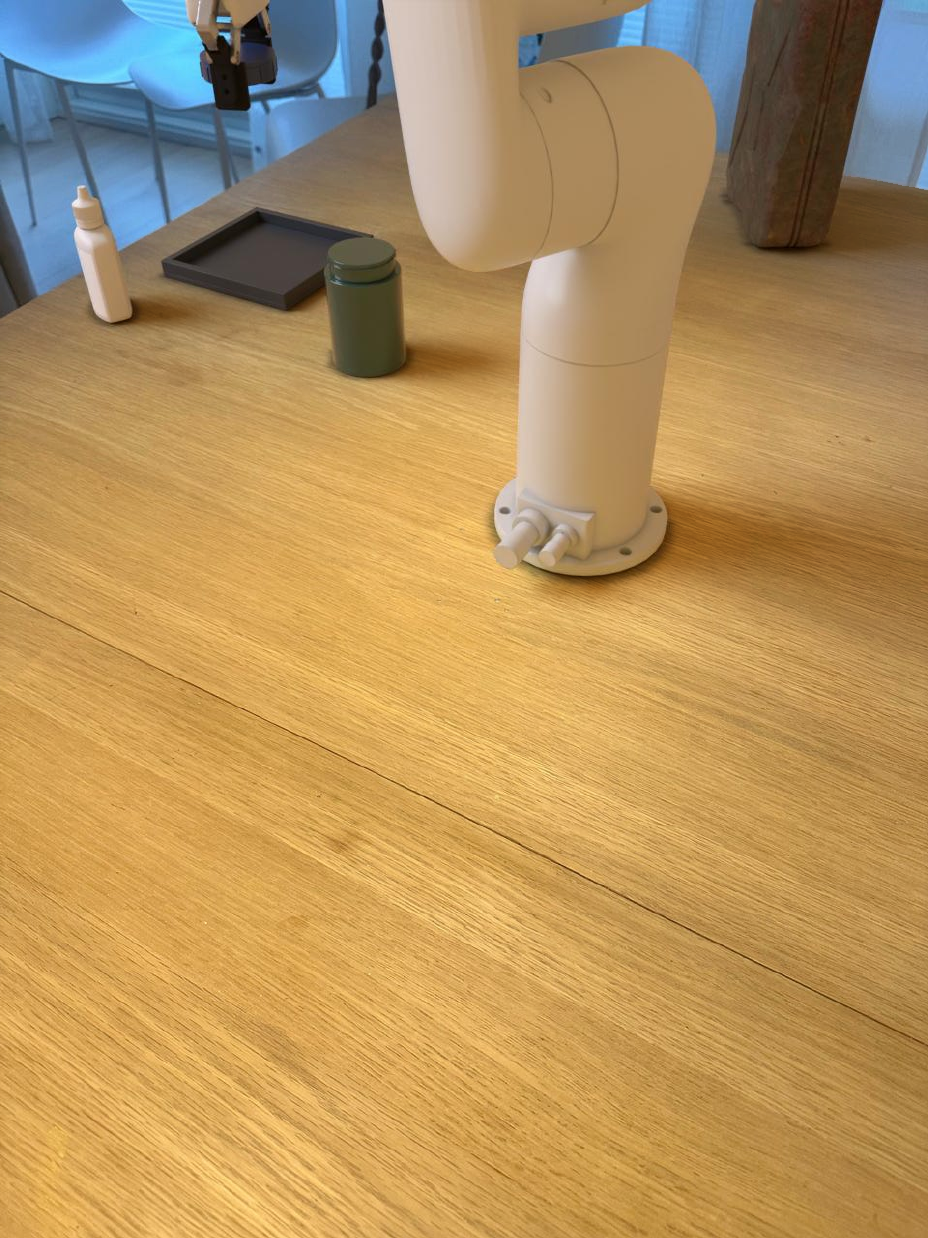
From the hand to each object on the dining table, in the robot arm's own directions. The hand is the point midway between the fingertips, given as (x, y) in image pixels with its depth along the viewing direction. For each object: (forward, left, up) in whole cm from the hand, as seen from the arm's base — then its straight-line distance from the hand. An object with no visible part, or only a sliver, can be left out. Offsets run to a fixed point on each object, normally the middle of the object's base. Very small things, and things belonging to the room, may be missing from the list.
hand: (247, 94), depth 99 cm
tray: (0, 0, -17) cm, 17 cm away
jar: (-12, -20, -17) cm, 28 cm away
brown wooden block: (+36, -42, -17) cm, 58 cm away
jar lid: (0, 0, +3) cm, 3 cm away
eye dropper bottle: (-16, +7, -17) cm, 24 cm away
